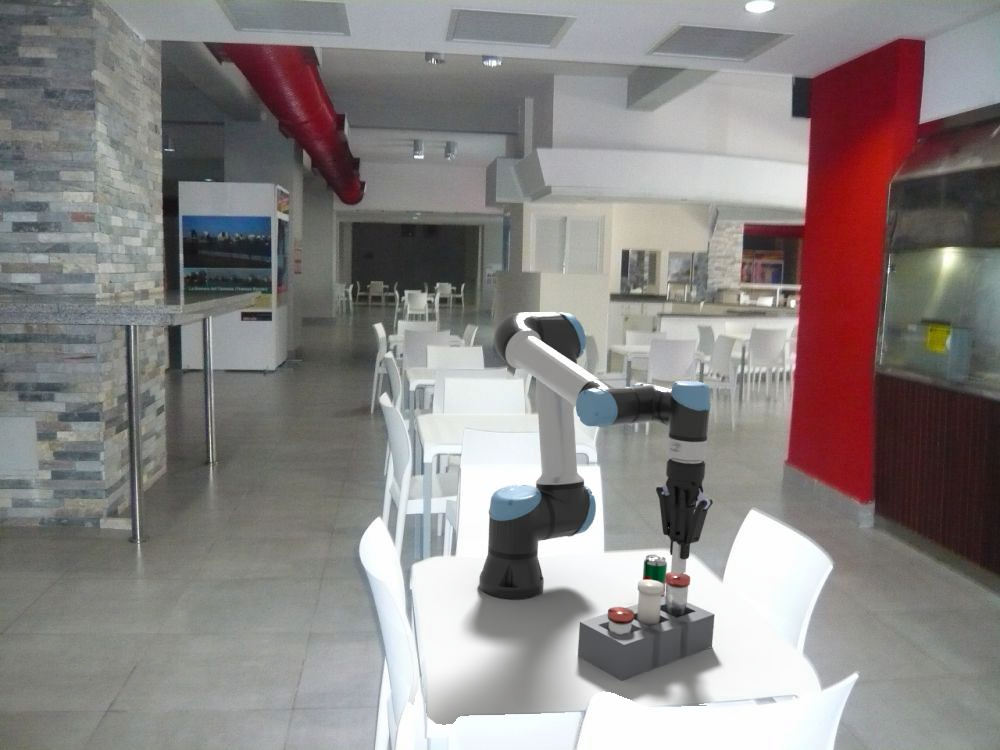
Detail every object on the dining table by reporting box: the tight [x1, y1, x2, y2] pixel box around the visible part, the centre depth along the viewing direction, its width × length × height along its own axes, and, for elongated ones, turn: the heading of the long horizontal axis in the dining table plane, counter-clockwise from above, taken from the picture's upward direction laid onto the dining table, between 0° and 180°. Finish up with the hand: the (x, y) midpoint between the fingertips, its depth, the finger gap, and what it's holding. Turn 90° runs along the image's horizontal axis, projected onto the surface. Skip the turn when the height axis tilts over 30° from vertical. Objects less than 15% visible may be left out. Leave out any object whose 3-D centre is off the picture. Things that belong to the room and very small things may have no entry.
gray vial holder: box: [577, 596, 715, 681], centre depth 174 cm, size 26×12×7 cm, turn 128°
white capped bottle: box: [637, 579, 664, 627], centre depth 174 cm, size 5×5×9 cm
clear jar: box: [664, 571, 691, 618], centre depth 179 cm, size 5×5×9 cm
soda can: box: [642, 554, 668, 597], centre depth 195 cm, size 5×5×12 cm
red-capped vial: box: [607, 606, 634, 636], centre depth 169 cm, size 5×5×9 cm
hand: (678, 572), depth 178 cm, fingers closed
